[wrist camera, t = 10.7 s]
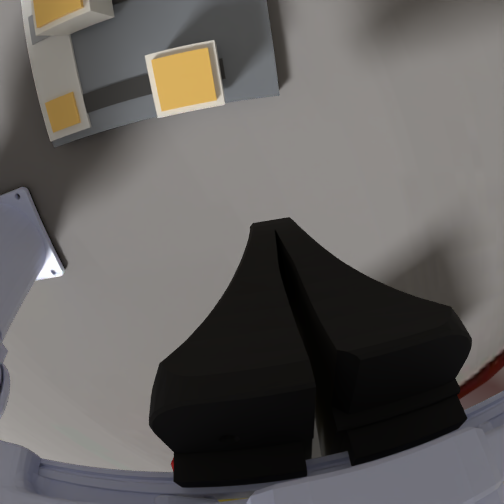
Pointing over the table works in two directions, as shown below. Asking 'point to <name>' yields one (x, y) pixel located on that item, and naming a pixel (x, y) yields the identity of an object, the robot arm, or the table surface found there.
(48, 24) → the switch mid
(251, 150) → the table surface
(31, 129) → the table surface
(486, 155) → the table surface
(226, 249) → the table surface
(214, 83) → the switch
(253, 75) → the switch unit
